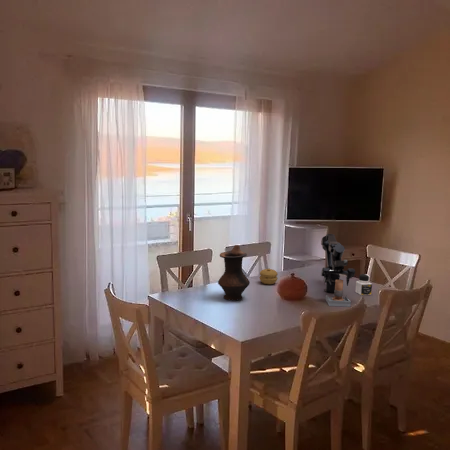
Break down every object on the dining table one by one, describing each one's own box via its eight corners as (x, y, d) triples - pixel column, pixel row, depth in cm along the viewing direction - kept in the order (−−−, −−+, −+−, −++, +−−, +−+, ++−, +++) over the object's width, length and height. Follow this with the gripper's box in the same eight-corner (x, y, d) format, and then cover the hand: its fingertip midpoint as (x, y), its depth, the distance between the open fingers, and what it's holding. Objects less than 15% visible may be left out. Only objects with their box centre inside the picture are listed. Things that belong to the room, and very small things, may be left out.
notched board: (325, 299, 295) (325, 294, 294) (346, 300, 294) (346, 295, 294) (329, 306, 283) (329, 300, 282) (350, 306, 283) (350, 301, 282)
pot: (257, 284, 323) (257, 269, 321) (261, 280, 334) (262, 265, 333) (275, 286, 320) (275, 271, 318) (278, 282, 331) (279, 267, 329)
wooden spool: (330, 299, 289) (331, 279, 287) (337, 298, 293) (339, 278, 291) (338, 302, 284) (339, 282, 282) (346, 301, 288) (347, 280, 286)
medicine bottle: (361, 295, 305) (362, 276, 303) (355, 292, 312) (356, 273, 310) (371, 294, 307) (372, 275, 305) (365, 291, 314) (366, 273, 312)
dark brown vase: (246, 304, 281) (248, 252, 277) (214, 301, 285) (215, 250, 280) (252, 294, 302) (253, 245, 297) (222, 291, 305) (223, 243, 301)
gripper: (323, 254, 288) (325, 277, 279) (355, 255, 288) (359, 278, 279) (320, 264, 297) (322, 287, 288) (351, 265, 297) (354, 288, 288)
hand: (339, 285), depth 286 cm, fingers open, 9 cm apart
